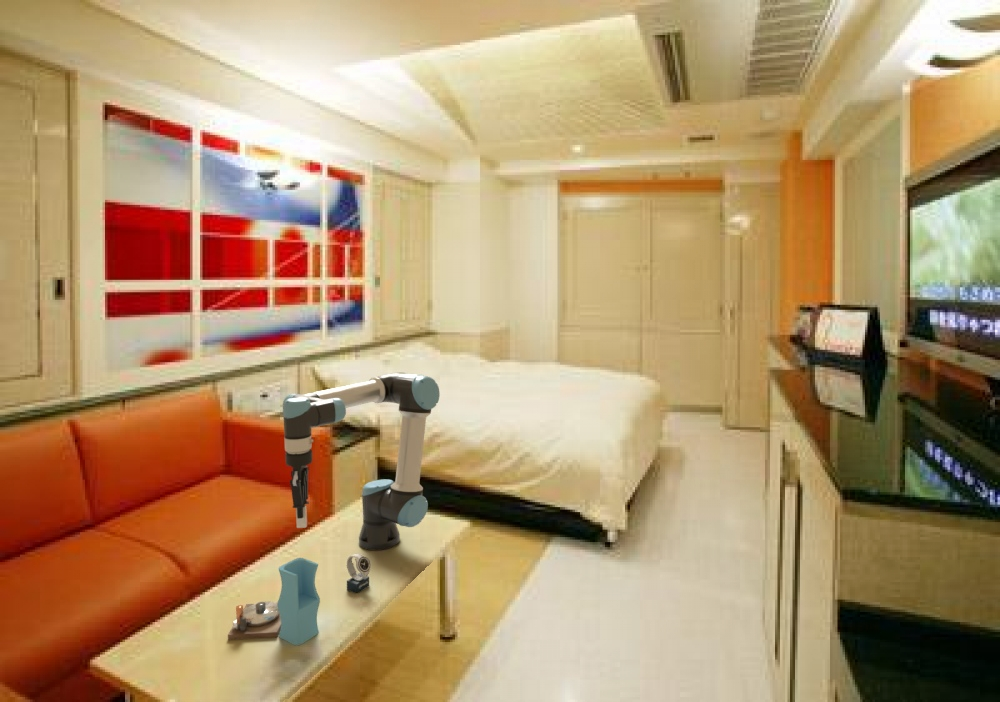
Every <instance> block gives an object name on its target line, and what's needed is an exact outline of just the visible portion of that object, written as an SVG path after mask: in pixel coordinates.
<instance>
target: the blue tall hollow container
mask: <svg viewBox="0 0 1000 702" xmlns="http://www.w3.org/2000/svg"><path fill="white" fill-rule="evenodd" d="M318 567H319V563H317V562H314V561H312V560H309V559H306V558H304V557H296V558H294V559H293V560H290V561H288V562H286V563H284V564H282V565H281V566H279V567H278V572H279V576H280V581H281V591H280V595H279V598H278V601H277V602H276V603H277V607H278V610H279V613H280V617H281V630H280V632H279V635H278V638H280V639H282V640H283V641H285V642H287V643H289V644H291V645H294V646H300V645H303V644H304V643H306V642H308V641H309V640H310V639H313V638H314V637H315V636H317V635H318V634H319V633H320V632H319V626H318V613H319V606H320V603H321V598H320V595H319V594H318V591H317V588H316V583H315V582H316V575H317V570H318Z"/></svg>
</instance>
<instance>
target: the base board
mask: <svg viewBox="0 0 1000 702" xmlns="http://www.w3.org/2000/svg"><path fill="white" fill-rule="evenodd" d="M253 604H254V603H247V604H245V606H244V607H243V611H244V610H245V609H246V608H247V607H249V606H251V605H253ZM280 630H281V617H280V614H279V616H278V617H277V618H276V619H275V620H274V621H272V622H270V623H268V624H265V625H261V626H247V625H246V617H241V618H240V629H238V630H237V629H236V628H234V627H233V626H232V627H231V629H230V630H229V632H228V634H227V640H228V641H232V640H233V641H234V640H235V641H236V640H249V639H250V640H251V639H270V638H271V639H273V638H279V634H280Z"/></svg>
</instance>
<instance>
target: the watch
mask: <svg viewBox="0 0 1000 702" xmlns="http://www.w3.org/2000/svg"><path fill="white" fill-rule="evenodd" d="M353 558H354V560H355V566H354V562H353ZM371 565H372V564H371V560H370V559H369V558H368V557H367V556H365V555H364V554H361V553H358V552H357V553H354V554H352V555H350V556H349V557H348V558H347V561H346V568H347V572H348V574H349V576H350V578H349V579H347V580H346V590H347V591H349V592H352V593H353V594H356V595H357V594H359V593H361V592H362V591H364V590H366V589H367V588H368V587H370V576H369V573H370V570H371ZM355 567H356V568H355ZM357 572H359V573H357Z"/></svg>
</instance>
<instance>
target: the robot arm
mask: <svg viewBox="0 0 1000 702" xmlns="http://www.w3.org/2000/svg"><path fill="white" fill-rule="evenodd" d="M440 395H441V394H440V388H439V384H438V383H437V382H436V380H435V379H434V378H432V377H430V376H426V375H424V374H413V373H408V372H407V373H406V372H392V373H386V374H383V375H379V376H374V377H371V378H370V379H369V380H368V381H363V382H357V383H353V384H349V385H345V386H339V387H334V388H330V389H324V390H319V391H314V392H308V393H304V394H301V393H290V394H288V395H287V396H286V397H285V398H284V399H283V402H282V417H283V419H282V420H283V434H284V437H283V438H284V451H285V457H284V459H285V464H286V466H288V467H292V470H291V471H290V477H291V478H292V479H289V485H290V489H291V497H292V504H293V505H292V508H293V509H295V517H296V519H295V521H296V528H297V529H303V528H304V529H305V528H307V526H308V514H307V505H309V504H310V501H309V500H308V499H309V497H308V496H309V472H310V467H309V466H308V465H310V464H311V463H312V462H313V450H312V448H313V447H312V443H314V438H312V428H317V427H321V426H326V425H330V424H335V423H338V422H340V421H343V420H344V419H345V417H346V414H347V408H352V407H356V406H362V405H364V404H369V403H372V402H373V403H374V404H381V403H393V404H398V412H399V413H400V414H401V426H400V427H401V428H400V434H399V444H398V451H397V453H398V454H397V460H396V461H397V462H396V464H397V465H396V473H395V481H394V480H392V479H389V478H388V479H384V478H383V479H377V480H372V481H369V482H367V483H365V484H364V485H363V488H362V495H361V499H362V501H361V502H362V503H361V504H362V520H363V521H362V525H361V527H360V532H359V534H358V535H359V536H358V545H359V547H361V548H362V549H364V550H369V551H382V550H387V549H390V548H393V547H395V546H396V545H397V544H399V542H400V541H401V536H400V535H401V534H400V531H399V529H398V526H397V525H399V526H400V527H405V528H414V527H415V526H417V525H419V524H420V523H421V522H422V520H424V518H425V516H426V515H427V513H428V507H429V503H428V500H427V498H426V497H425V496H424V495H423V490H424V487H423V486H422V485H421V484H420V479H421V470H422V462H423V461H422V460H423V449H424V442H425V441H424V439H425V432H426V431H425V430H426V423H427V422H426V421H427V417H428V416H430V415H431V413H432V409H434V408H436V406H437V404H438V403H439V400H440Z"/></svg>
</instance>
